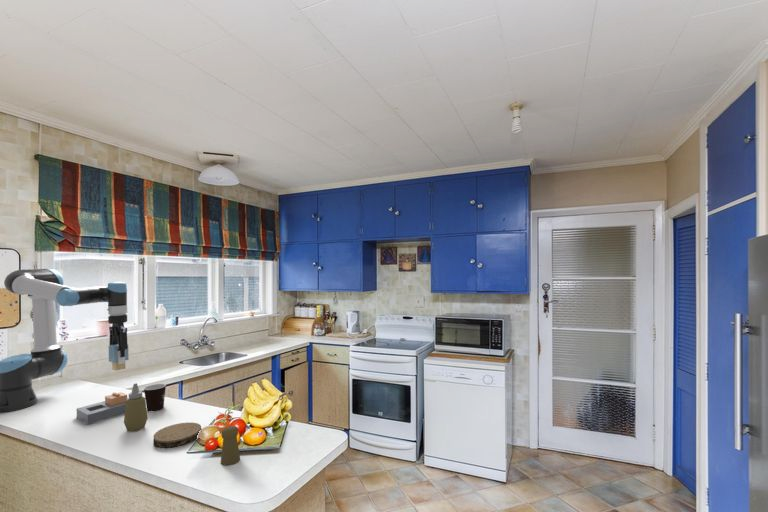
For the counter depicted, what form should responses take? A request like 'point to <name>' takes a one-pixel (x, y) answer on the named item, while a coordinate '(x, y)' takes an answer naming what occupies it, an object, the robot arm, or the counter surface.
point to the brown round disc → (176, 435)
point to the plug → (116, 357)
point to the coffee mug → (155, 397)
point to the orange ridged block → (115, 398)
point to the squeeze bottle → (135, 410)
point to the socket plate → (99, 412)
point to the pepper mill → (230, 446)
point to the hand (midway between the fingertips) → (118, 362)
